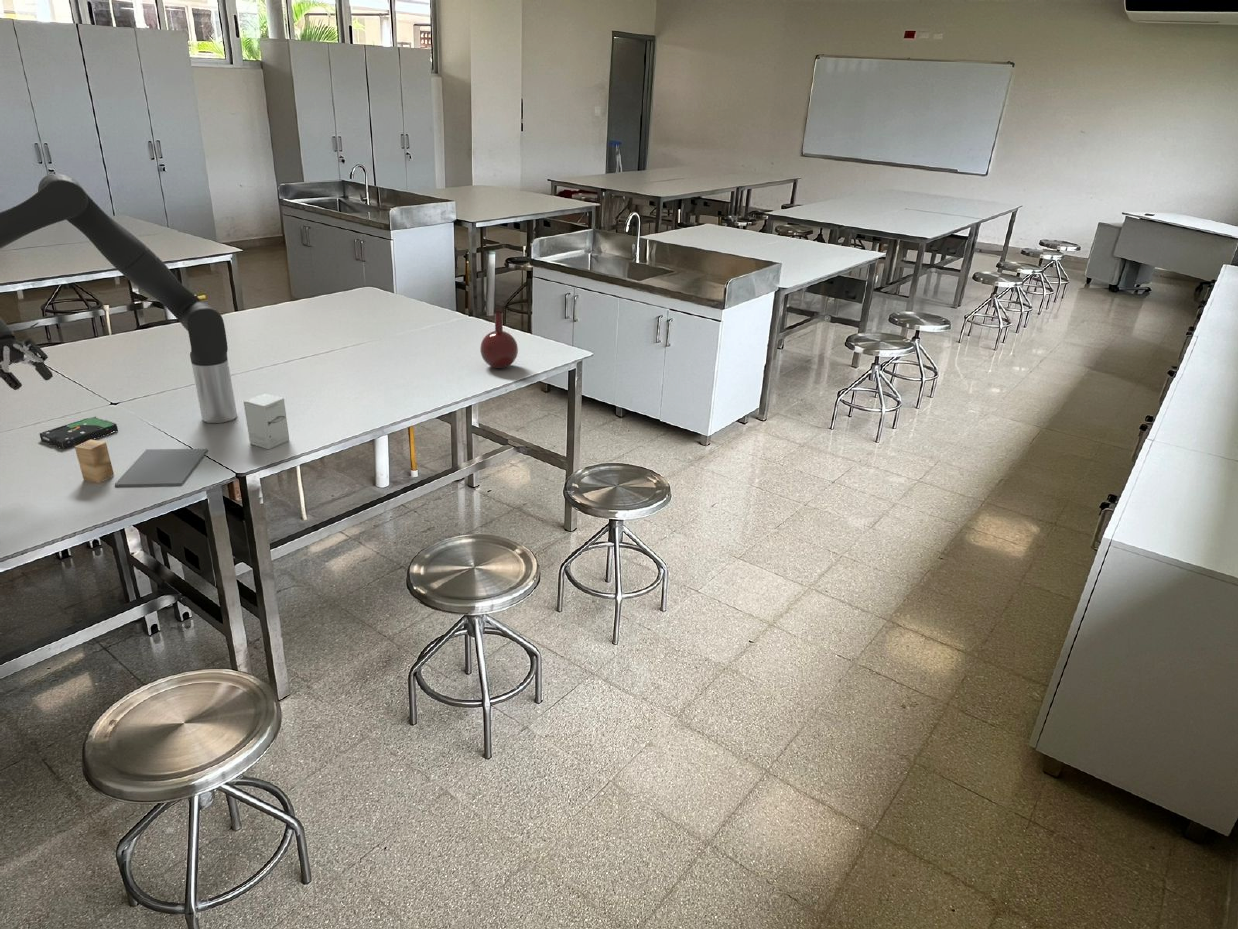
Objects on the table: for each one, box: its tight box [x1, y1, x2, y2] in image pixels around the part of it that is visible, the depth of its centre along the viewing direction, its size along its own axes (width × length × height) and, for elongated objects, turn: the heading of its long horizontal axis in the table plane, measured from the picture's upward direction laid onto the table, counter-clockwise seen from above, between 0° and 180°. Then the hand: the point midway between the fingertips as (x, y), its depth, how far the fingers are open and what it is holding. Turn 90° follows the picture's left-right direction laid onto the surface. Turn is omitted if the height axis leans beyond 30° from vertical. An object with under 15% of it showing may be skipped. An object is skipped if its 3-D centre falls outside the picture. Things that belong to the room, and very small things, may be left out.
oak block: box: [74, 439, 115, 484], centre depth 191 cm, size 4×4×9 cm
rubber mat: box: [113, 448, 209, 487], centre depth 200 cm, size 20×15×1 cm
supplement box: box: [243, 393, 290, 450], centre depth 214 cm, size 7×7×13 cm
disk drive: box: [38, 416, 119, 450], centre depth 214 cm, size 10×3×15 cm
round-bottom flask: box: [479, 310, 519, 369], centre depth 278 cm, size 13×13×20 cm
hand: (34, 383), depth 185 cm, fingers open, 8 cm apart
